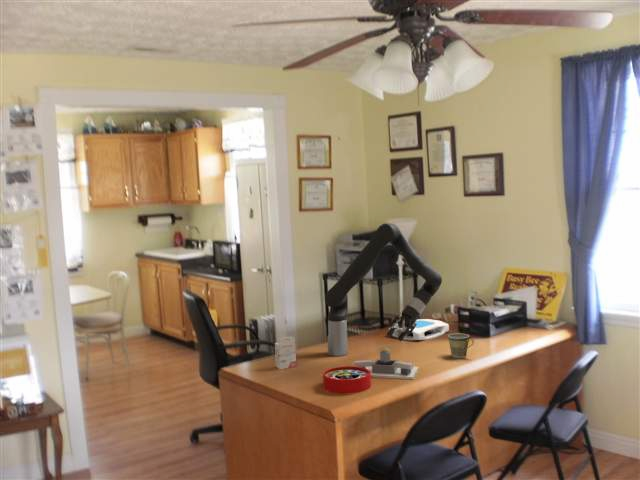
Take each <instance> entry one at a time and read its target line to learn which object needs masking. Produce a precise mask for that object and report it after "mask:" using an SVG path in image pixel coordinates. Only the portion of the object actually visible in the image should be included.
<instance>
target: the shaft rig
mask: <svg viewBox="0 0 640 480" xmlns="http://www.w3.org/2000/svg"><path fill="white" fill-rule="evenodd" d="M354 367H362V368H366V369H368V370H370V372H371V378H382V379H397V380H398V379H400V380H414V378H415V376H416V374H417V372H418V371H419V366H414V364H413V363H411V362H404V361H399V360H396V359H390V365H380V358H379V359H377V358H376V360H375V361H374V360H372V359H370V360H355V361H354Z"/></svg>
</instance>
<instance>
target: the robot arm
mask: <svg viewBox="0 0 640 480" xmlns="http://www.w3.org/2000/svg"><path fill="white" fill-rule="evenodd" d="M388 244H391V245H392V246H394V248H396V249H397V250H398V252H399V253H400V255H401V256H402V258H403V260H404V261H405V263H406V264H407V265H408V266H409V268H410V269H411V270H412V271H413V272H414V273H415V274H416V276H420V277H421V278H422V279H423V280H424V282H423V284H422V286H421V287H420V288H419V289H418V290H417V291H416V292H415V293H414V295H413V297H412V298H411V299H410V300H409V301H408V303H407V304H406V305H405V306H404V308H403V309H402V311H401V316H400V317H399V316H397V315H396V316H395V317H394V318H393V319H392V321H391V322H390V323H389V324H388V327H389V328H390V330H389V329H388V331H387V333H386V336H387V337H388V338H391V337H393V336H392V334H393V333H394V332H395V330H397V329H400V328H403V330H402V331H403V332H401V331H400V332H401V334H400V335H399V336H398V338H396V339H397V340H398V341H400V342H402V341H403V340H404V339H403V338H404V337H405V335H407V336H411V334H413V333H412V331H413V330H414V328H415V327H416V325H417V324H416V323H415V322H416V320H417V319H420V316H421V314H423V312H424V310H425V308H426V307H427V306H428V304H429V303H430V301H431V299H432V297H433V296H435V294H436V293H437V292H438V291H439V289H440V287H441V285H442V283H443V279H442V278H443V277H442V276H441V274H440V273H439V272H438V271H437V270H436V269H434V268H433V266H430V265H429V264H428V263H427V262H426V261H425V259H423V257H422V256H421V255H419V253H418V252H417V251H416V250H415V248H413V247H412V245H411V244H410V243H409V241H408V240H407V239H406V237H405V235H403V233H402V231H401V230H400V228H399V227H398V226H397V225H396V224H394V223H383V224H381V225H379V226H378V227H377V229H376V230H375V232H374V233H373V236H372V237H371V238H370V240H369V241H368V242H367V244H366V245H365V246H364V247H363V248H362V250H361V251H360V252H359V253H358V254H357V256H355V258H354V259H353V260H352V261H351V263H350V264H349V266H347V268H346V269H345V271H344V273H343V274H342V275H341V277H340V278H339V279H338V281H336V282H335V284H334V285H333V286H332V287H331V288H330V289H329V290H327V292H326V293H325V296H324V301H325V304H326V305H327V306H328V307H329V312H328V314H327V329H328V332H327V333H328V335H327V338H326V339H327V355H330V356H333V357H337V356H338V357H340V356H341V357H342V356H347V355H348V350H349V349H348V327H347V324H348V322H347V317H348V316H347V315H348V312H349V311H348V305H349V303H348V298H349V297H348V294H349V292H350V291H351V290H352V289H353V288H354V287H355V286H356V285H357V284H359V283H360V282H361V281H362V280H363V279H365V277H366V276H367V274H369V272H370V271H371V270H372V269H373V267H374V265H375V264H376V260H377V259H378V256H379V254H380V253H381V251H382V250H383V249H384V248H385V247H387V245H388ZM397 324H398V325H397ZM395 327H396V328H395ZM409 329H411V330H410V331H409Z"/></svg>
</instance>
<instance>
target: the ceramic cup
mask: <svg viewBox="0 0 640 480" xmlns="http://www.w3.org/2000/svg"><path fill="white" fill-rule="evenodd" d="M447 338H448V344H449V350H450V353H451V357H452V358H456V359H463V358H466V357H467V353H468V349H469V348H470V347H471V346H473V344H474V340H473V339H472V338H470V335H469V334H466V333H450V334H448V336H447ZM469 341H471V344H470V345H469Z"/></svg>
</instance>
